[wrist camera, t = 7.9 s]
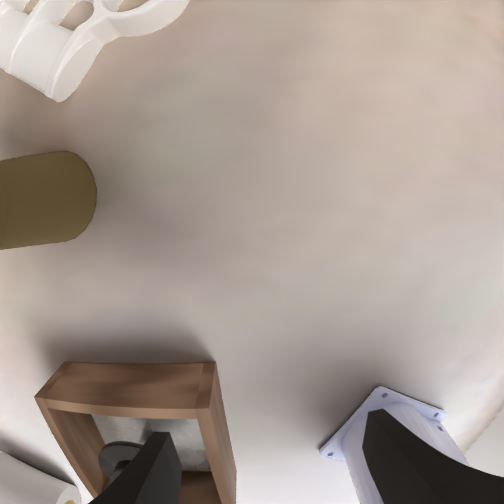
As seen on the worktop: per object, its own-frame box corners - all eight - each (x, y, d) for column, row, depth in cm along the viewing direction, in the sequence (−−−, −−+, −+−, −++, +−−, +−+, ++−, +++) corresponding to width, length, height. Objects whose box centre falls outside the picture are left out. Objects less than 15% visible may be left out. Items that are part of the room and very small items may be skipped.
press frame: (215, 361, 21) (209, 408, 16) (236, 470, 23) (235, 514, 18) (64, 361, 21) (34, 396, 16) (111, 464, 23) (96, 501, 18)
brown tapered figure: (45, 255, 19) (-70, 311, 8) (16, 178, 18) (-105, 189, 7) (110, 218, 19) (-10, 260, 8) (78, 133, 17) (-48, 108, 7)
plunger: (196, 383, 21) (182, 450, 14) (216, 464, 23) (211, 524, 16) (84, 381, 21) (47, 434, 14) (118, 459, 23) (98, 511, 16)
